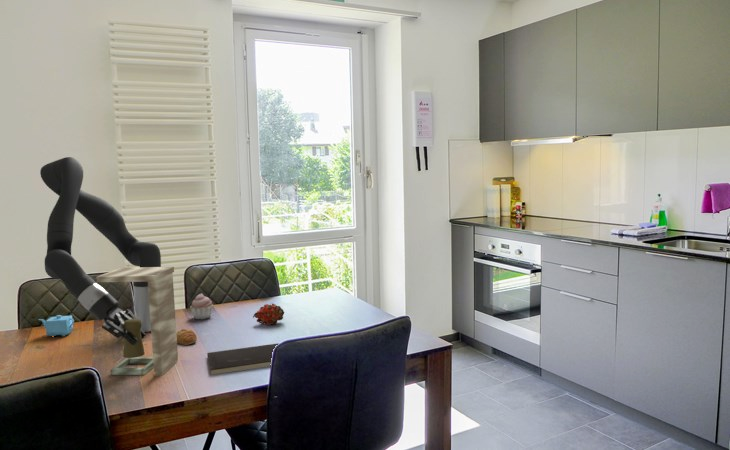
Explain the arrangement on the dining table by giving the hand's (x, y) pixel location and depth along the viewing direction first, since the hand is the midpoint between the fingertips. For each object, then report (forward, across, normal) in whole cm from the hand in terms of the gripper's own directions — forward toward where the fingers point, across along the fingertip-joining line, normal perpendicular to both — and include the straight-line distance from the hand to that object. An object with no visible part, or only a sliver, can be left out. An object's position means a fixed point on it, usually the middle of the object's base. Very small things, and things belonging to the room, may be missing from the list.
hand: (139, 339), depth 166 cm
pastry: (+10, +26, +4) cm, 28 cm away
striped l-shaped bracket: (+7, 0, +6) cm, 9 cm away
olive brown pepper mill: (+2, 0, +5) cm, 5 cm away
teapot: (-27, +33, +40) cm, 59 cm away
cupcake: (+6, +56, +7) cm, 56 cm away
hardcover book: (+29, +6, -15) cm, 33 cm away
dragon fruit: (+27, +46, -14) cm, 55 cm away
